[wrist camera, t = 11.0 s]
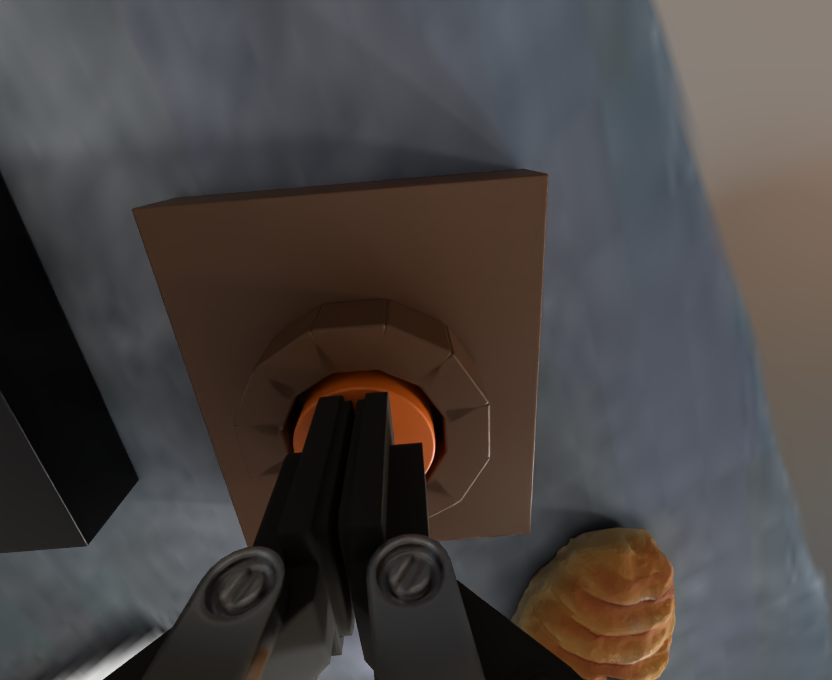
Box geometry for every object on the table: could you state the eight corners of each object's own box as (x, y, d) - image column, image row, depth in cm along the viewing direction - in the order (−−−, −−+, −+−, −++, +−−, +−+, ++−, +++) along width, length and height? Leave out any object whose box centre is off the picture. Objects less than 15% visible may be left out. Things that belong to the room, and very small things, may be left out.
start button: (434, 453, 13) (439, 496, 12) (318, 463, 13) (306, 507, 12) (427, 349, 12) (431, 381, 10) (295, 359, 12) (278, 393, 10)
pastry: (537, 507, 18) (572, 597, 14) (691, 516, 18) (761, 604, 15) (494, 646, 21) (513, 742, 18) (622, 649, 22) (664, 744, 19)
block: (515, 488, 17) (546, 581, 14) (268, 508, 17) (232, 606, 14) (525, 168, 12) (577, 179, 8) (174, 197, 12) (78, 220, 9)
